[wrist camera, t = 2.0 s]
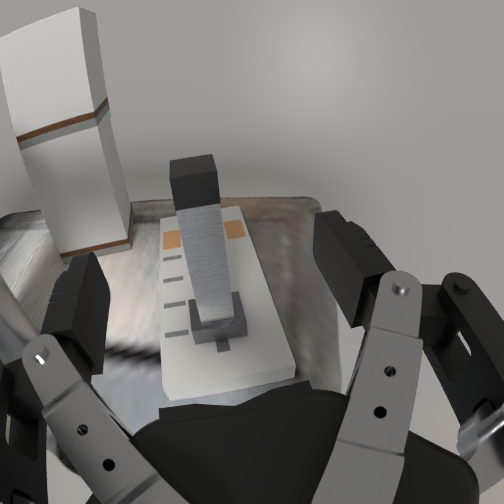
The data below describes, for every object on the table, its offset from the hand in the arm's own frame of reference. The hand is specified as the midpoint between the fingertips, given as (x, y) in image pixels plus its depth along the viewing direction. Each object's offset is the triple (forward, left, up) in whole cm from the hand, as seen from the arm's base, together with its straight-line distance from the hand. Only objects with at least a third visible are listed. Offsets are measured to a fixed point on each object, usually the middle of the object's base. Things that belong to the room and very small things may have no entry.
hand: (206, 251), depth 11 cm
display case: (-17, +35, -21) cm, 44 cm away
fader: (0, +11, -18) cm, 21 cm away
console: (0, +19, -21) cm, 28 cm away
